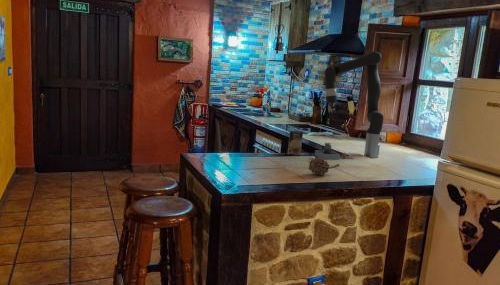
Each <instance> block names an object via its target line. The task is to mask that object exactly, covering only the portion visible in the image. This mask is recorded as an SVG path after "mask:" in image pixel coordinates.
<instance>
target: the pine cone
mask: <svg viewBox="0 0 500 285" xmlns="http://www.w3.org/2000/svg"><path fill="white" fill-rule="evenodd" d="M325 161H326V162H325ZM338 167H340V163H336V164H335V165H332V166H330V164H329V163H328V161H327V160H324V159H322V160H321V158H319V157H318V159H317V158H315V157H314V158H312V159H310V161H309V162H308V170H309V171H311V173H312V174H315V175H321V176H322V175H326V173H327V174H328V173H329V172H330V171H329V170H331V169H336V168H338Z"/></svg>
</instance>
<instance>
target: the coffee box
mask: <svg viewBox="0 0 500 285" xmlns="http://www.w3.org/2000/svg"><path fill="white" fill-rule="evenodd" d="M303 134H304V132H303V131H296V130H289V137H288V146H287V155H289V154H293V155H292V156H298V155H300V156H301V153H302V144H303V136H304V135H303Z"/></svg>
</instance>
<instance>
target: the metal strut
mask: <svg viewBox="0 0 500 285" xmlns="http://www.w3.org/2000/svg"><path fill="white" fill-rule="evenodd" d="M332 144H333V143H331V142H330V143H329V142H325V143H324V149H323V150H324V152H323V154H332V153H331V151H332V146H333V145H332Z"/></svg>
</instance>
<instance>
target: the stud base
mask: <svg viewBox="0 0 500 285" xmlns="http://www.w3.org/2000/svg"><path fill="white" fill-rule="evenodd" d="M339 160H354V158H353V157H350V156H348V155H347V154H346V153H345V152H343V153H342V155H340V158H339Z"/></svg>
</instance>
